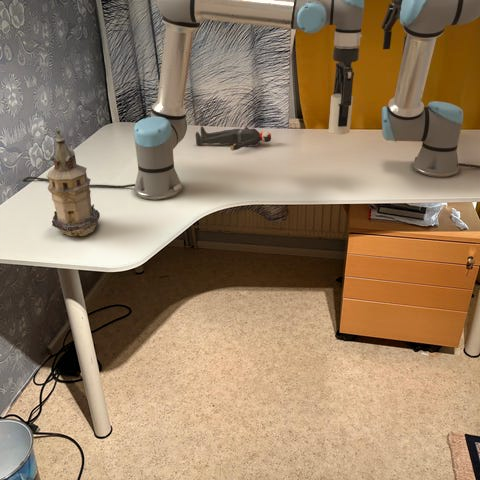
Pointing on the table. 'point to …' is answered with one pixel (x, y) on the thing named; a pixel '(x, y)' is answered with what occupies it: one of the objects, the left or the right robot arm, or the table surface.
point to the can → (335, 115)
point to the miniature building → (70, 193)
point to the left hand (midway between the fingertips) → (339, 122)
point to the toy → (233, 137)
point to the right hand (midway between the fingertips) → (395, 52)
